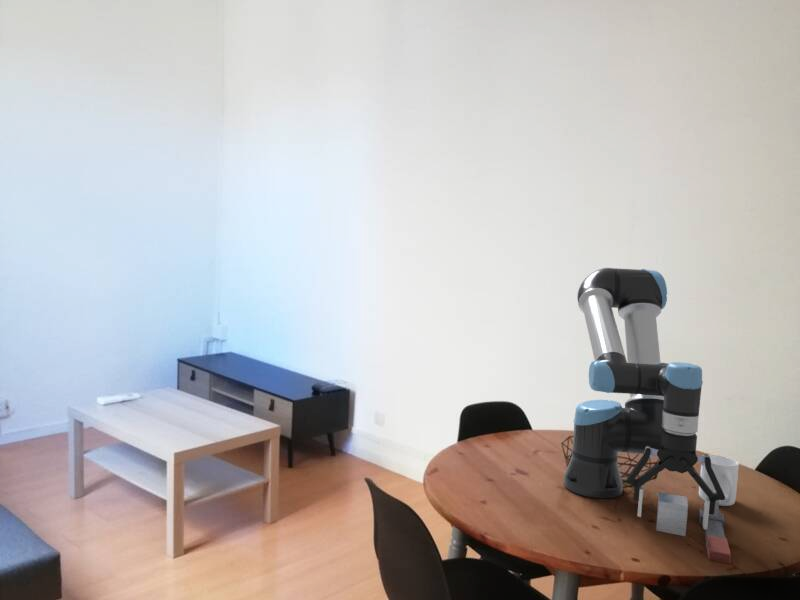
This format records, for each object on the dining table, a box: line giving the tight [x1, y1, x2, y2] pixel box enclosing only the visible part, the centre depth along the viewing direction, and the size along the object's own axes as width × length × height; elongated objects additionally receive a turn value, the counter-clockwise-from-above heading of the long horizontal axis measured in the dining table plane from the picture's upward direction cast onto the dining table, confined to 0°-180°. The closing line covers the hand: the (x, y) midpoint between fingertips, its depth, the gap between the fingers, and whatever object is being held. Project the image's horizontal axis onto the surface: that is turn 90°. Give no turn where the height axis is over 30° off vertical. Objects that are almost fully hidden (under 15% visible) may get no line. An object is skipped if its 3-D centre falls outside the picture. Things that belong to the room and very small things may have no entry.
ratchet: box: [698, 496, 732, 565], centre depth 137 cm, size 23×5×6 cm, turn 157°
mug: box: [698, 454, 740, 507], centre depth 158 cm, size 9×12×11 cm
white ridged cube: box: [656, 491, 689, 537], centre depth 142 cm, size 6×6×7 cm
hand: (671, 521), depth 141 cm, fingers open, 13 cm apart
